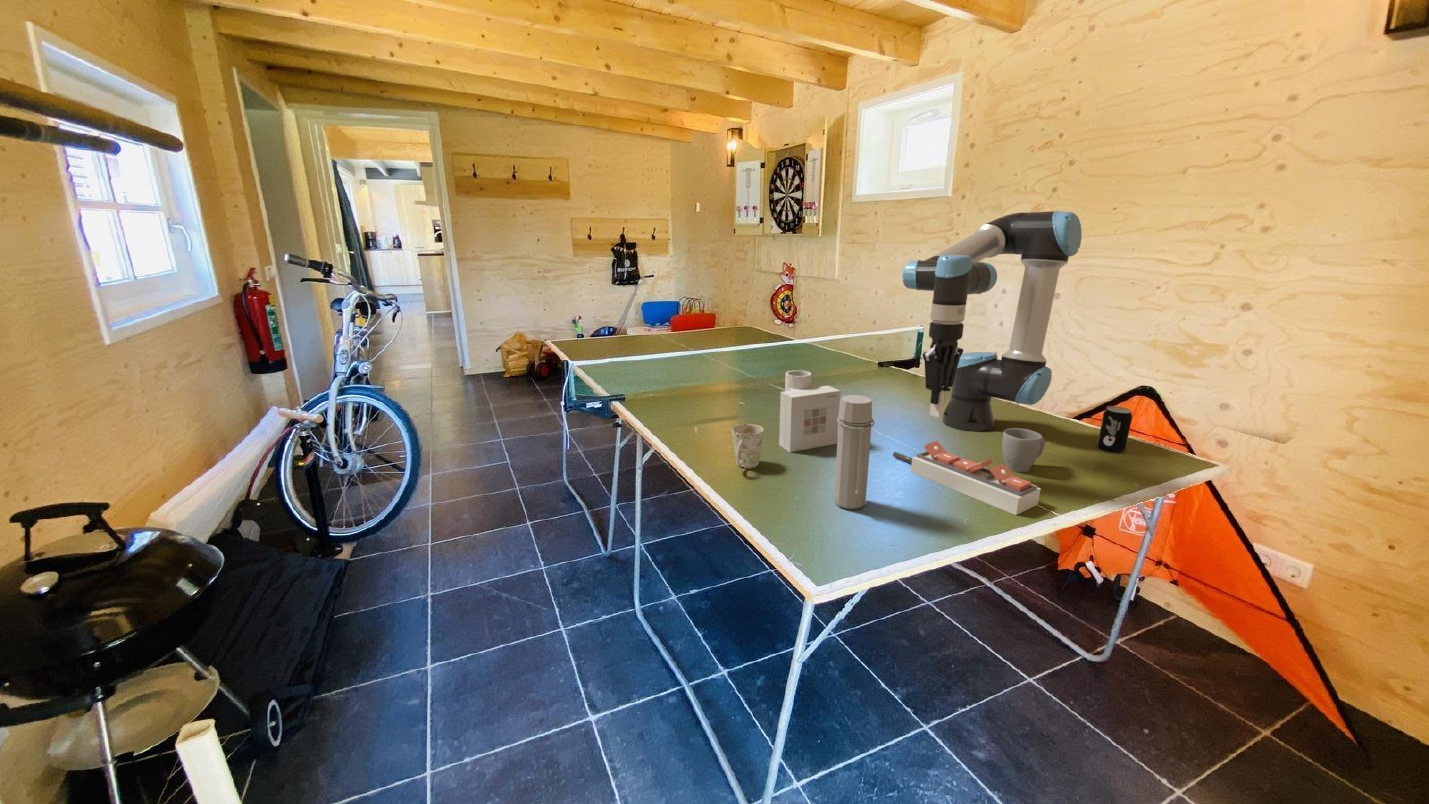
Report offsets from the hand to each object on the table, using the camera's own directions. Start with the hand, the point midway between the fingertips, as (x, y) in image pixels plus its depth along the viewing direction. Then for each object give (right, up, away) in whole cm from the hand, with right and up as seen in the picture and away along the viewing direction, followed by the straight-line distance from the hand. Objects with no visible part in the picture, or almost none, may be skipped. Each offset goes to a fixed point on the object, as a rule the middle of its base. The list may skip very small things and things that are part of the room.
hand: (935, 415), depth 141 cm
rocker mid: (+6, -12, -6) cm, 15 cm away
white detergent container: (-31, -8, +29) cm, 43 cm away
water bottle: (-25, -20, -13) cm, 34 cm away
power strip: (+4, -16, -1) cm, 17 cm away
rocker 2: (+11, -14, -13) cm, 23 cm away
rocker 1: (+2, -10, +1) cm, 10 cm away
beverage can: (+57, -10, +18) cm, 60 cm away
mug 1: (-47, -14, +8) cm, 50 cm away
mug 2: (+25, -14, +7) cm, 30 cm away
